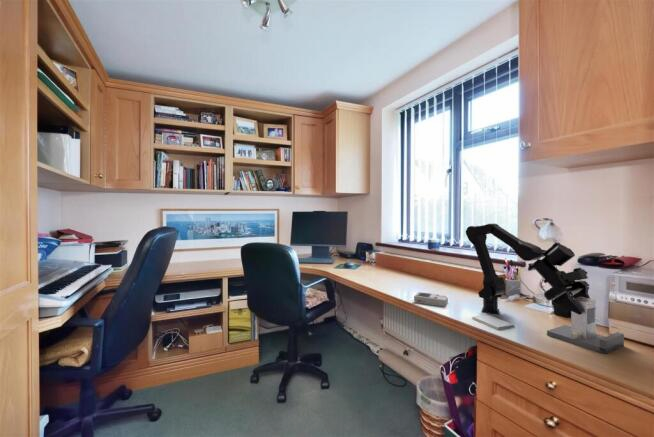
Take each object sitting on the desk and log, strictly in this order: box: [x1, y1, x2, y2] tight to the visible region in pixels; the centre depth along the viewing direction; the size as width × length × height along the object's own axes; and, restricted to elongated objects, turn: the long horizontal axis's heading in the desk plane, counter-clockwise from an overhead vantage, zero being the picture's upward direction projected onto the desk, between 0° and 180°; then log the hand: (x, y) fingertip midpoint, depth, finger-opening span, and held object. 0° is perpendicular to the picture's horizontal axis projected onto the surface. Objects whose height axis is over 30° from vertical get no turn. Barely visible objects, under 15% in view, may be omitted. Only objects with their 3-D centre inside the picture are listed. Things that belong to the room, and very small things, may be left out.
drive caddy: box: [570, 297, 597, 340], centre depth 96 cm, size 4×6×12 cm, turn 115°
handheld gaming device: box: [413, 291, 449, 307], centre depth 141 cm, size 9×15×4 cm, turn 59°
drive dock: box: [546, 324, 625, 355], centre depth 96 cm, size 16×12×4 cm
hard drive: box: [471, 314, 515, 331], centre depth 113 cm, size 2×8×12 cm
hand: (588, 312), depth 95 cm, fingers open, 9 cm apart
